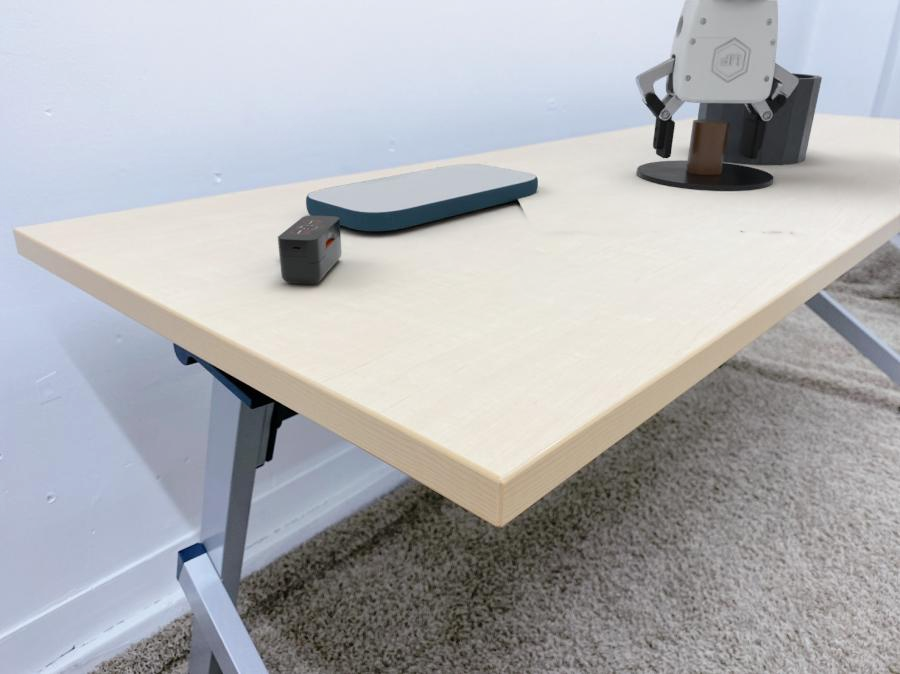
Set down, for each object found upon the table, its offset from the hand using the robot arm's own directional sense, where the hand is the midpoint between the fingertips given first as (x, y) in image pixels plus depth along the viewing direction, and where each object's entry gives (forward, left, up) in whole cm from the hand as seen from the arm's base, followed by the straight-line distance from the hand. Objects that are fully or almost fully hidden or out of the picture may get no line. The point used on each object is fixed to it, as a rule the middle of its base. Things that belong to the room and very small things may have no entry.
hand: (705, 156), depth 79 cm
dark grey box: (+40, +30, -3) cm, 50 cm away
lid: (0, 0, -2) cm, 2 cm away
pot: (-11, -14, -3) cm, 18 cm away
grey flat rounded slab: (+31, +11, -3) cm, 33 cm away
